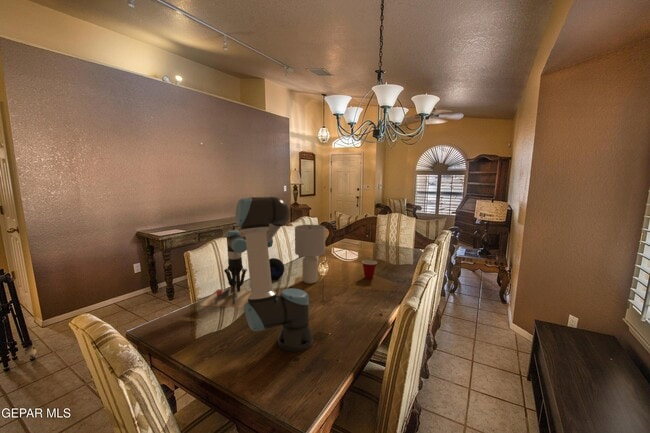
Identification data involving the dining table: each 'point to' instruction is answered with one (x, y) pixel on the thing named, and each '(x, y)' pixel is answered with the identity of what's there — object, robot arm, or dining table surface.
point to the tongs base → (223, 295)
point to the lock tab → (219, 292)
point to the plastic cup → (369, 268)
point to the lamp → (310, 249)
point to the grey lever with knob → (233, 296)
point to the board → (228, 300)
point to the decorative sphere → (276, 268)
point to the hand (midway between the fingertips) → (237, 297)
